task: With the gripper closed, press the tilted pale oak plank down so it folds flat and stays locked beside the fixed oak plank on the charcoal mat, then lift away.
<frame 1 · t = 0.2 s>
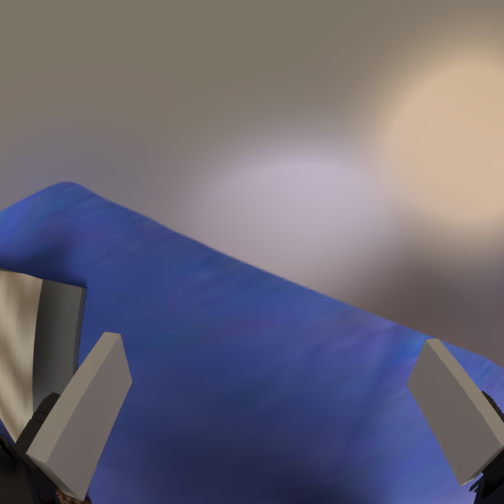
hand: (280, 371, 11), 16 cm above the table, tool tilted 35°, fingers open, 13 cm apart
floor base: (15, 343, 24), on the table
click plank: (8, 352, 19), point 5 cm above the table, hinge at 30.0°
bread: (38, 490, 18), on the table
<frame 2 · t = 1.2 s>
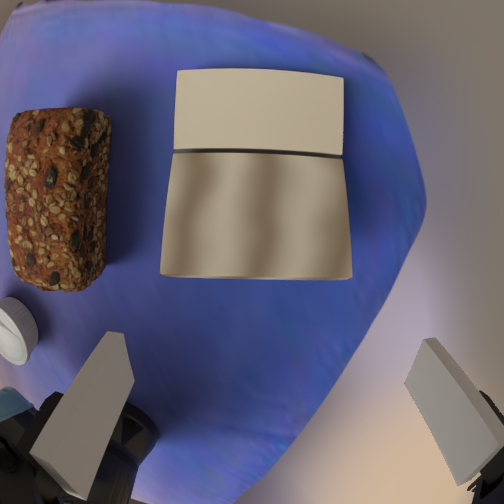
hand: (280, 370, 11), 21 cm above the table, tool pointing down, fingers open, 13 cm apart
floor base: (257, 168, 29), on the table
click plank: (257, 213, 25), point 5 cm above the table, hinge at 30.0°
bread: (77, 192, 29), on the table
ramekin: (20, 320, 35), on the table
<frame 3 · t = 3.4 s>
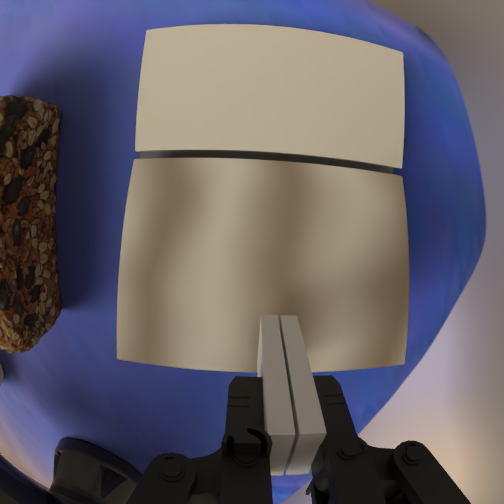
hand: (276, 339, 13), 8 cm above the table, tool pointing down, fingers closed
floor base: (268, 183, 19), on the table
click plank: (269, 264, 15), point 5 cm above the table, hinge at 26.2°, touching gripper
bread: (22, 211, 19), on the table
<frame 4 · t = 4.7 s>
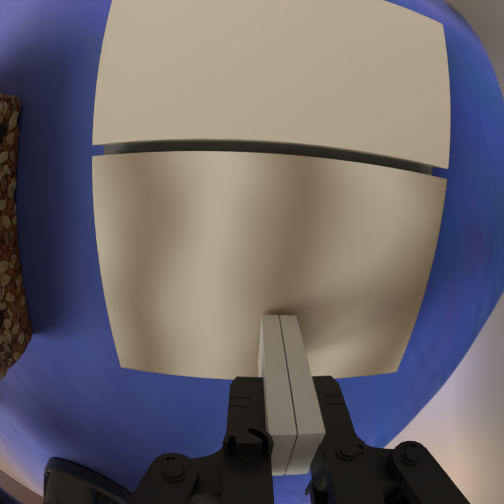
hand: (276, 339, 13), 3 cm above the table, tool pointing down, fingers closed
floor base: (273, 184, 14), on the table
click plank: (271, 278, 13), point 2 cm above the table, hinge at -0.3°, touching floor base, gripper
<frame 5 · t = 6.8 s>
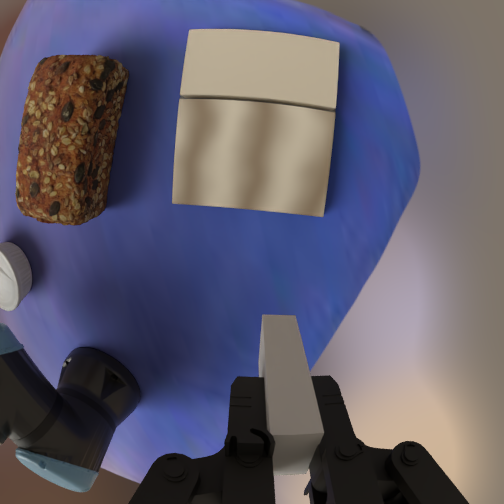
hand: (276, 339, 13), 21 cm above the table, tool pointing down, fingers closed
floor base: (256, 119, 29), on the table
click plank: (252, 155, 29), point 2 cm above the table, hinge at -0.3°, touching floor base
bread: (87, 138, 30), on the table
ramekin: (16, 267, 36), on the table
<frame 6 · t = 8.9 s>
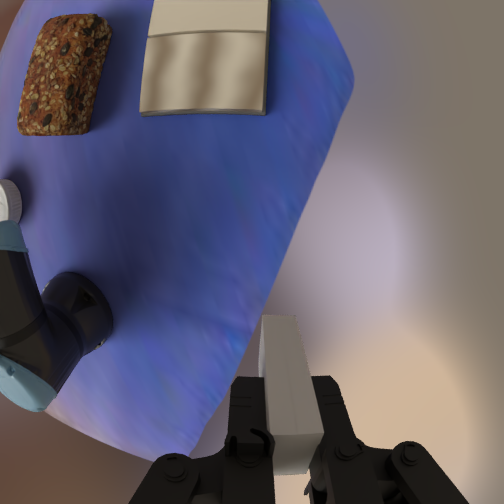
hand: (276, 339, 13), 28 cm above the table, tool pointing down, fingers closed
floor base: (206, 49, 32), on the table
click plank: (202, 70, 32), point 2 cm above the table, hinge at -0.3°, touching floor base
bread: (78, 81, 33), on the table
ramekin: (9, 203, 39), on the table
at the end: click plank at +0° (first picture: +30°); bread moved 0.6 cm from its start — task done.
